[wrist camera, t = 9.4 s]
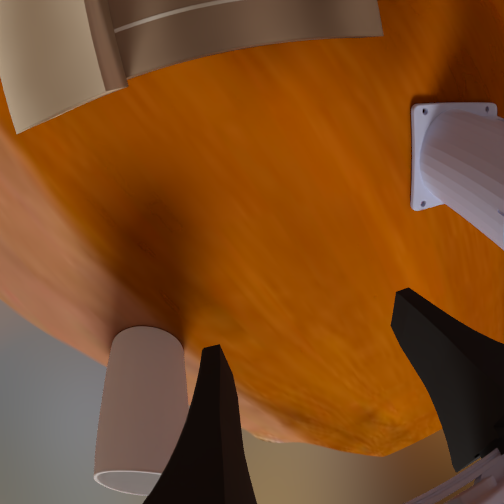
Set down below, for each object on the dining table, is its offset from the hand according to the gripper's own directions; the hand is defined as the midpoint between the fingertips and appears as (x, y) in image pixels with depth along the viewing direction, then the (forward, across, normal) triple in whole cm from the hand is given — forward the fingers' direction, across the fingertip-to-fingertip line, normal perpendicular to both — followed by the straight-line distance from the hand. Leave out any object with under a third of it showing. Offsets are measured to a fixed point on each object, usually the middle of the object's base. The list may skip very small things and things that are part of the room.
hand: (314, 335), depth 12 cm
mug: (+10, +13, +10) cm, 19 cm away
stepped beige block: (+10, +7, -16) cm, 20 cm away
